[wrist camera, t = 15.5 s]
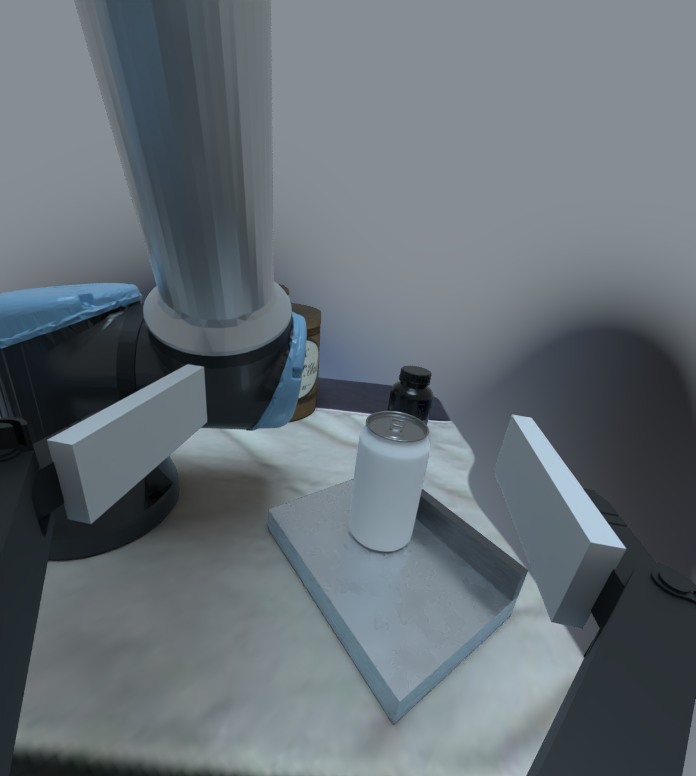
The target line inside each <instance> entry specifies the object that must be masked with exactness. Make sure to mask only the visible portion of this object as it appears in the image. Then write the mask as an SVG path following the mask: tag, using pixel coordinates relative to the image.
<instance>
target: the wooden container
mask: <svg viewBox="0 0 696 776" xmlns="http://www.w3.org/2000/svg"><path fill="white" fill-rule="evenodd" d="M278 285H279V284H278ZM279 286H280V287H281V288H282V289H283V290H284V291H285V292H286V294H287V295H289V290H288V288H286V287H285V286H284V285H279ZM290 303H291V302H290ZM291 308H292V312H294V313H296V314H298V315H301V316H303V317H304V319H305V321H306V330H307V338H306V352H305V361H304V366H303V371H302V373H301V374H302V381H301V387H300V392H299V397H298V401H297V405H296V409H295V411H294V414H293V416H292V418H291V419H290V421H295V420H298V419H301V418H304V417H306V416H308V415H310V414H311V413H312V412H313V411H314V410H315V407H316V396H317V385H318V369H319V345H320V324H321V311H320V310H318V309H316V308H313V307H310V306H306V305H301V304H295V303H291Z"/></svg>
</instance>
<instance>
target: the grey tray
mask: <svg viewBox="0 0 696 776" xmlns="http://www.w3.org/2000/svg"><path fill="white" fill-rule="evenodd" d="M353 482H354V479H352V480H349V481H346V482H343V483H340V484H338V485H335V486H332V487H329V488H327V489H324V490H321V491H318V492H315V493H313V494H310V495H307V496H304V497H301V498H299V499H296V500H293V501H290V502H288V503H285V504H282V505H279V506H276V507H274V508H271V509H268V529H269V530H270V532H271V533H272V535H273V537H274V538H275V540H276V541H277V543H278V544H279V546H280V547H281V549H282V551H283V552H284V554H285V555H286V557H287V558H288V560H289V562H290V563H291V565H292V566H293V568H294V569H295V571H296V573H297V574H298V576H299V577H300V579H301V580H302V582H303V584H304V585H305V587H306V588H307V590H308V591H309V593H310V594H311V596H312V598H313V599H314V601H315V602H316V604H317V605H318V607H319V609H320V610H321V612H322V613H323V615H324V616H325V618H326V620H327V621H328V623H329V624H330V626H331V627H332V629H333V630H334V632H335V634H336V635H337V637H338V638H339V640H340V641H341V643H342V645H343V646H344V648H345V649H346V651H347V652H348V654H349V656H350V657H351V659H352V660H353V662H354V663H355V665H356V667H357V668H358V670H359V671H360V673H361V674H362V676H363V677H364V679H365V681H366V682H367V684H368V685H369V687H370V688H371V690H372V692H373V693H374V695H375V696H376V698H377V699H378V701H379V703H380V704H381V706H382V707H383V709H384V710H385V712H386V713H387V715H388V717H389V718H390V720H391V721H392V723H393V724H395V723H396V722H397V721H398V720H399V719H400V718H402V717H403V716H404V715H405V714H406V713H407V712H408V711H409V710H410V709H411V708H412V707H413V706H414V705H415V704H417V703H418V702H419V701H420V700H421V699H422V698H423V697H424V696H425V695H426V694H427V693H428V692H429V691H430V690H432V689H433V688H434V687H435V686H436V685H437V684H438V683H439V682H440V681H441V680H442V679H443V678H444V677H445V676H447V675H448V674H449V673H450V672H451V671H452V670H453V669H454V668H455V667H456V666H457V665H458V664H459V663H460V662H462V661H463V660H464V659H465V658H466V657H467V656H468V655H469V654H470V653H471V652H472V651H473V650H474V649H475V648H477V647H478V646H479V645H480V644H481V643H482V642H483V641H484V640H485V639H486V638H487V637H488V636H489V635H490V634H492V633H493V632H494V631H495V630H496V629H497V628H498V627H499V626H500V625H501V624H502V623H503V622H504V621H506V620H507V619H508V618H509V617H510V616H511V613H512V610H513V608H514V605H515V603H516V600H517V598H518V595H519V592H520V590H521V587H522V585H523V582H524V580H525V577H526V575H527V572H528V570H527V569H526V568H525V567H523V566H522V565H521V564H519V563H518V562H517V561H515V560H514V559H513V558H512V557H510V556H509V555H508V554H506V553H505V552H504V551H502V550H501V549H500V548H499V547H497V546H496V545H495V544H493V543H492V542H491V541H489V540H488V539H487V538H486V537H484V536H483V535H482V534H480V533H479V532H478V531H476V530H475V529H474V528H473V527H471V526H470V525H469V524H467V523H466V522H465V521H463V520H462V519H461V518H460V517H458V516H457V515H456V514H454V513H453V512H452V511H450V510H449V509H448V508H446V507H445V506H444V505H443V504H441V503H440V502H439V501H437V500H436V499H435V498H433V497H432V496H431V495H430V494H428V493H427V492H426V491H424V490H423V489H422V491H421V496H420V500H419V505H418V510H417V514H416V519H415V523H414V528H413V532H412V536H411V539H410V541H409V542H408V543H407V545H405V546H404V547H403V548H401V549H398V550H396V551H392V552H379V551H374V550H370V549H368V548H366V547H364V546H363V545H362V544H360V543H359V542H358V541H357V540H356V539H355V538H354V536H353V535H352V533H351V531H350V529H349V514H350V506H351V498H352V490H353Z"/></svg>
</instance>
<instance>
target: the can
mask: <svg viewBox="0 0 696 776" xmlns="http://www.w3.org/2000/svg"><path fill="white" fill-rule="evenodd" d="M428 434H429V429H428V426H427V425H426V424H425V423H424V422H423V421H421V420H420V419H418V418H416V417H414V416H412V415H409V414H405V413H401V412H395V411H382V412H376V413H373V414H371V415H370V416H369V417H368V418H367V419H366V425H365V427H364V428H363V430H362V431H361V433H360V437H359V443H358V451H357V458H356V466H355V474H354V482H353V490H352V498H351V506H350V514H349V529H350V531H351V533H352V535H353V536H354V538H355V539H356V540H357V541H358V542H359V543H360V544H362V545H363V546H364V547H366V548H368V549H370V550H374V551H379V552H392V551H396V550H398V549H401V548H403V547H404V546H405V545H407V543H408V542H409V541H410V539H411V536H412V532H413V528H414V523H415V519H416V514H417V510H418V505H419V500H420V496H421V491H422V486H423V482H424V477H425V472H426V467H427V463H428V458H429V452H430V442H429V439H428Z"/></svg>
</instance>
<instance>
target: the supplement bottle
mask: <svg viewBox="0 0 696 776" xmlns="http://www.w3.org/2000/svg"><path fill="white" fill-rule="evenodd" d="M399 379H400V381H399V382H397V383H395V384H394V385H393V386H392V388H391V393H390V399H389V404H388V410H387V411H395V412H401V413H405V414H409V415H412V416H414V417H416V418H418V419H420V420H421V421H423V422H424V423H425V424H426V425H427V423H428V419H429V414H430V410H431V405H432V401H433V392H432V390H431V389H430V388H429V387H428V385H429V384H430V379H431V372H430V371H429V370H427V369H425V368H422V367H417V366H404V367H402V368H401V373H400V375H399Z"/></svg>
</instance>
